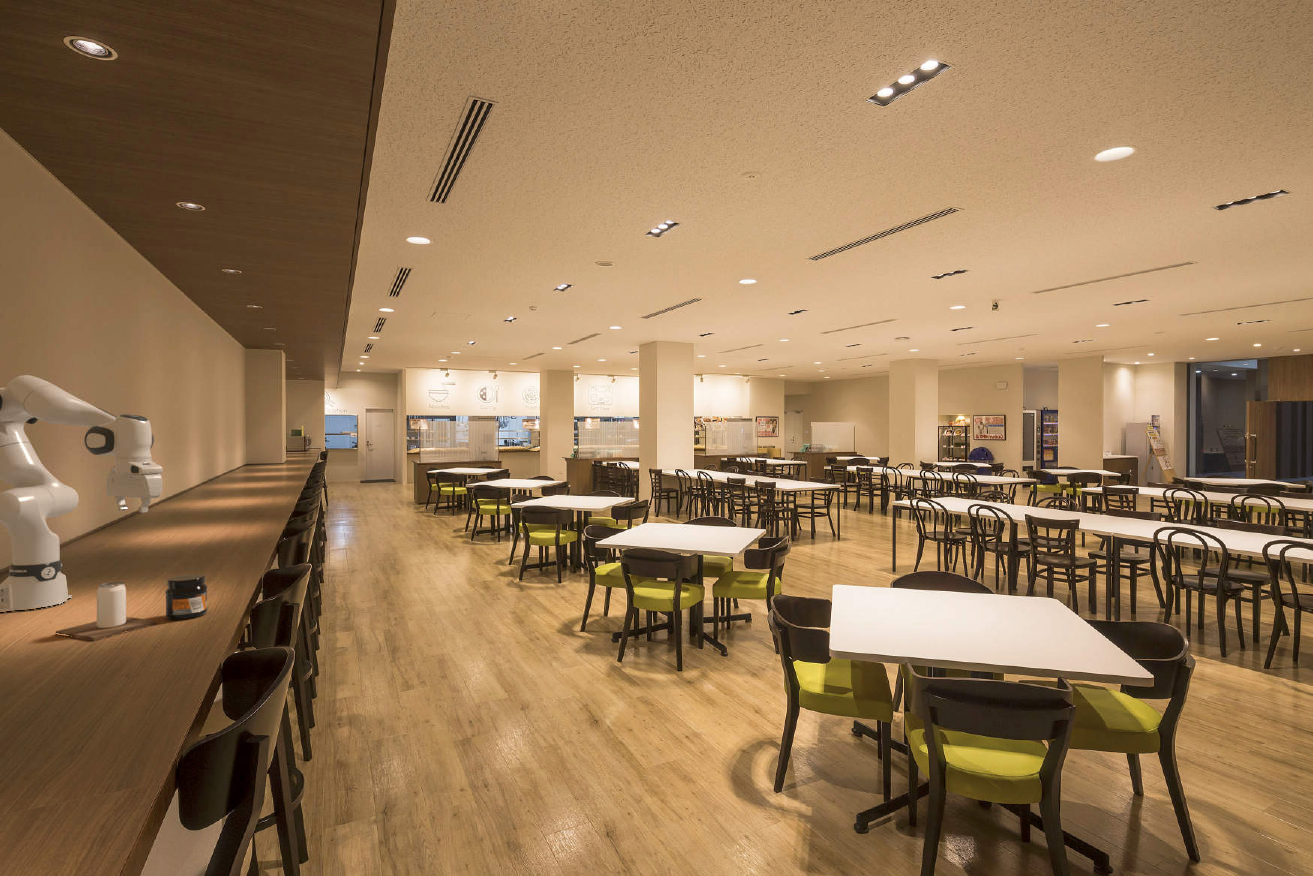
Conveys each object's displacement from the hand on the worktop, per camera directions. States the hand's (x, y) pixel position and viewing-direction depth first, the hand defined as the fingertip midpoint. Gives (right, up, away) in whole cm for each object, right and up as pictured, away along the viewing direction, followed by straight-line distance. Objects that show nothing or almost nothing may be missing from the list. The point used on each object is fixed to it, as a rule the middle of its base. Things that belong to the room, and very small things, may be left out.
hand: (132, 511), depth 198 cm
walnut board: (+4, -33, -14) cm, 36 cm away
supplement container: (+17, -33, 0) cm, 37 cm away
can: (+5, -32, -14) cm, 35 cm away
